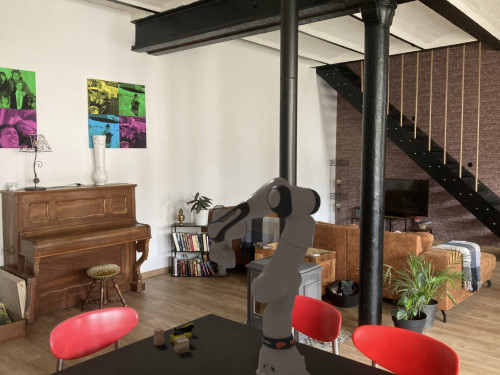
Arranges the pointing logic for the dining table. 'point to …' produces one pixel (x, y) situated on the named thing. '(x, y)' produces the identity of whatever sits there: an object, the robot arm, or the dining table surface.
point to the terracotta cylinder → (159, 336)
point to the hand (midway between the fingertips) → (222, 273)
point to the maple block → (181, 344)
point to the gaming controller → (182, 332)
